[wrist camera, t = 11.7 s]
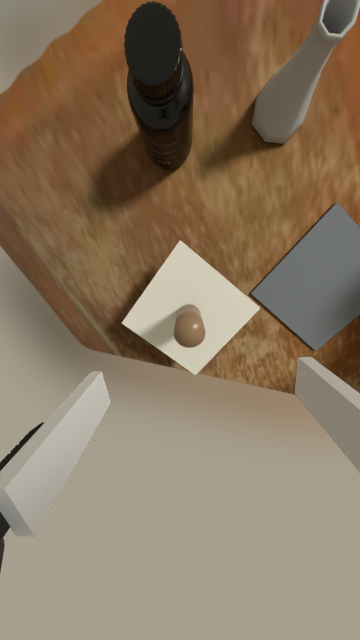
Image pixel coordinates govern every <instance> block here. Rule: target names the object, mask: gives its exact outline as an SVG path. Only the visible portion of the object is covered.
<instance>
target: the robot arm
mask: <svg viewBox="0 0 360 640" xmlns="http://www.w3.org/2000/svg"><path fill="white" fill-rule="evenodd" d="M295 394H296V396H297V397H298V398H299V399H300V400H301V402H302V403H303V404H304V405H305V407H306V408H307V409H308V410H309V411H310V412H311V414H312V415H313V416H314V417H315V419H316V420H317V421H318V422H319V423H320V425H321V426H322V427H323V428H324V430H325V431H326V432H327V433H328V434H329V436H330V437H331V438H332V439H333V440H334V442H335V443H336V444H337V445H338V446H339V448H340V449H341V450H342V451H343V453H344V454H345V455H346V456H347V457H348V459H349V460H350V461H351V462H352V464H353V465H354V466H355V467H356V468H357V470H358V471H359V472H360V393H358V392H357V391H356V390H354V389H353V388H352V387H350V386H349V385H348V384H347V383H345V382H344V381H343V380H341V379H340V378H339V377H337V376H336V375H335V374H333V373H332V372H331V371H329V370H328V369H327V368H325V367H324V366H323V365H321V364H320V363H319V362H317V361H316V360H315V359H313V358H312V357H301V358H298V366H297V375H296V384H295ZM110 403H111V402H110V399H109V396H108V392H107V388H106V385H105V381H104V378H103V374H102V371H95V372H91V373H90V374H89V375H88V376H87V377H86V378H85V379H84V380H83V381H82V382H81V383H80V385H79V386H78V387H77V388H76V389H75V390H74V391H73V392H72V394H70V395H69V397H68V398H67V399H66V400H65V401H64V402H63V403H62V404H61V405H60V407H59V408H58V409H57V410H56V411H55V412H54V413H53V414H52V415H51V416H50V417H49V419H48V420H47V421H46V422H45V423H41V424H39V425H38V426H37V427H35V428H34V429H33V430H31V431H30V432H29V433H28V434H27V435H26V436H25V437H24V438H23V439H22V440H21V441H20V442H19V445H17V446H16V447H15V448H14V449H13V450H12V451H11V453H10V454H8V455H7V456H6V457H5V458H4V459H3V460H2V461H1V462H0V571H1V564H2V558H3V552H4V539H3V537H4V535H5V534H6V532H7V531H8V529H9V528H11V529H12V531H13V532H14V534H15V535H16V536H35V535H36V534H37V532H38V530H39V528H40V526H41V525H42V523H43V521H44V519H45V517H46V516H47V514H48V512H49V511H50V509H51V507H52V505H53V504H54V502H55V500H56V498H57V496H58V495H59V493H60V491H61V489H62V488H63V486H64V484H65V482H66V480H67V479H68V477H69V475H70V473H71V472H72V470H73V468H74V466H75V465H76V463H77V461H78V459H79V458H80V456H81V454H82V452H83V450H84V449H85V447H86V445H87V444H88V442H89V440H90V438H91V437H92V435H93V433H94V431H95V429H96V428H97V426H98V424H99V422H100V421H101V419H102V417H103V415H104V414H105V412H106V410H107V408H108V407H109V405H110Z"/></svg>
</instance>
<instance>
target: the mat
mask: <svg viewBox="0 0 360 640" xmlns="http://www.w3.org/2000/svg"><path fill="white" fill-rule="evenodd" d="M250 294H252V295H253V296H254V297H255V298H256V299H257V300H258V301H259V302H261V303H262V304H263V305H264V306H265V307H266V308H267V309H269V310H270V311H271V312H272V313H273V314H274V315H275V316H276V317H278V318H279V319H280V320H281V321H282V322H283V323H284V324H285V325H287V326H288V327H289V328H290V329H291V330H292V331H293V332H295V333H296V334H297V335H298V336H299V337H300V338H301V339H302V340H304V341H305V342H306V343H307V344H308V345H309V346H310V347H311V348H313V349H314V350H315V351H316V350H318V349H319V348H320V347H321V346H322V345H324V344H325V343H326V342H327V341H328V340H330V339H331V338H332V337H333V336H334V335H336V334H337V333H338V332H339V331H341V330H342V329H343V328H344V327H345V326H347V325H348V324H349V323H350V322H351V321H353V320H354V319H355V318H356V317H357V316H359V315H360V228H359V227H358V226H357V224H356V223H355V222H354V221H353V220H352V219H351V218H350V216H349V215H348V214H347V213H346V212H345V211H344V210H343V208H342V207H341V206H340V205H339V204H338V203H335V204H334V205H333V206H332V207H331V208H330V209H329V210H328V211H327V212H326V213H325V214H324V215H323V217H322V218H321V219H320V220H319V221H318V222H317V223H316V224H315V225H314V226H313V227H312V228H311V229H310V230H309V231H308V232H307V233H306V235H305V236H304V237H303V238H302V239H301V240H300V241H299V242H298V243H297V244H296V245H295V246H294V247H293V248H292V249H291V250H290V251H289V253H288V254H287V255H286V256H285V257H284V258H283V259H282V260H281V261H280V262H279V263H278V264H277V265H276V266H275V267H274V268H273V270H272V271H271V272H270V273H269V274H268V275H267V276H266V277H265V278H264V279H263V280H262V281H261V282H260V283H259V284H258V285H257V286H256V288H255V289H254V290H253V291H252V292H251V293H250Z"/></svg>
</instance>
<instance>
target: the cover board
mask: <svg viewBox="0 0 360 640" xmlns="http://www.w3.org/2000/svg"><path fill="white" fill-rule="evenodd" d="M259 309H260V307H259V306H257V305H256V304H255V303H254V302H253V301H252V300H250V299H249V298H248V297H247V296H246V295H244V294H243V293H242V292H241V291H240V290H239V289H237V288H236V287H235V286H234V285H233V284H231V283H230V282H229V281H228V280H227V279H226V278H224V277H223V276H222V275H221V274H220V273H218V272H217V271H216V270H215V269H214V268H213V267H211V266H210V265H209V264H208V263H207V262H205V261H204V260H203V259H202V258H201V257H200V256H198V255H197V254H196V253H195V252H194V251H192V250H191V249H190V248H189V247H188V246H187V245H185V244H184V243H183V242H182V241H181V240H180V241H179V243H178V244H177V245H176V247H175V248H174V250H173V251H172V252H171V254H170V255H169V257H168V258H167V260H166V261H165V262H164V264H163V265H162V267H161V268H160V269H159V271H158V272H157V274H156V275H155V277H154V278H153V279H152V281H151V282H150V284H149V285H148V286H147V288H146V289H145V291H144V292H143V293H142V295H141V296H140V298H139V299H138V301H137V302H136V303H135V305H134V306H133V308H132V309H131V310H130V312H129V313H128V315H127V316H126V318H125V319H124V320H123V322H122V324H123V325H125V326H126V327H128V328H129V329H130V330H132V331H133V332H135V333H136V334H138V335H139V336H140V337H142V338H143V339H145V340H146V341H148V342H149V343H150V344H152V345H153V346H155V347H156V348H158V349H159V350H160V351H162V352H163V353H165V354H166V355H168V356H169V357H170V358H172V359H173V360H175V361H176V362H178V363H179V364H180V365H182V366H183V367H185V368H186V369H188V370H189V371H190V372H192V373H193V374H195V375H196V374H197V373H198V372H199V371H200V370H201V369H202V368H203V367H204V366H205V365H206V364H207V363H208V362H209V361H210V360H211V359H212V358H213V357H214V356H215V355H216V354H217V353H218V351H219V350H220V349H221V348H222V347H223V346H224V345H225V344H226V343H227V342H228V341H229V340H230V339H231V338H232V337H233V336H234V335H235V334H236V333H237V332H238V331H239V330H240V329H241V328H242V327H243V326H244V325H245V324H246V323H247V321H248V320H249V319H250V318H251V317H252V316H253V315H254V314H255V313H256V312H257V311H258V310H259Z"/></svg>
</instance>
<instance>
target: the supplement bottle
mask: <svg viewBox="0 0 360 640" xmlns="http://www.w3.org/2000/svg"><path fill="white" fill-rule="evenodd" d="M124 47H125V56H126V60H127V65H128V68H129V70H128V75H127V93H128V99H129V103H130V107H131V110H132V113H133V115H134V118H135V121H136V123H137V126H138V129H139V131H140V134H141V137H142V139H143V142H144V145H145V147H146V150H147V152H148V154H149V156H150V158H151V160H152V161H153V162H154V163H155V164H156V165H157V166H159V167H161V168H163V169H174V168H177V167H178V166H180V165H181V164H182V163H183V162H184V161H185V160H186V158H187V157H188V155H189V152H190V149H191V145H192V129H193V93H194V89H193V76H192V71H191V67H190V64H189V62H188V59H187V57H186V56H185V54H184V52H183V50H182V39H181V31H180V29H179V25H178V22H177V21H176V19H175V16H174V15H173V14H172V12H171V10H169V9H167V7H166V6H165V5H162V4H161V3H160V2H159V3H156V2H154V1H153V2H147V3H146V4H142V5H141V6H140V7H138V8H137V9H136V11H135V12H134V13H133V14H132V16H131V18H130V19H129V21H128V25H127V27H126V33H125V42H124Z"/></svg>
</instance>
